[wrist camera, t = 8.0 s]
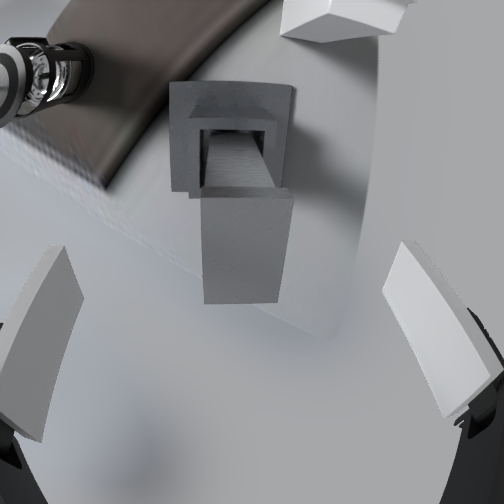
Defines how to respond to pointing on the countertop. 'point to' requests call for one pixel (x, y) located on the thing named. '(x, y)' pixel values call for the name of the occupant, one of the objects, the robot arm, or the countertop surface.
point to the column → (242, 224)
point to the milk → (341, 18)
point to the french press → (39, 74)
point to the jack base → (224, 125)
